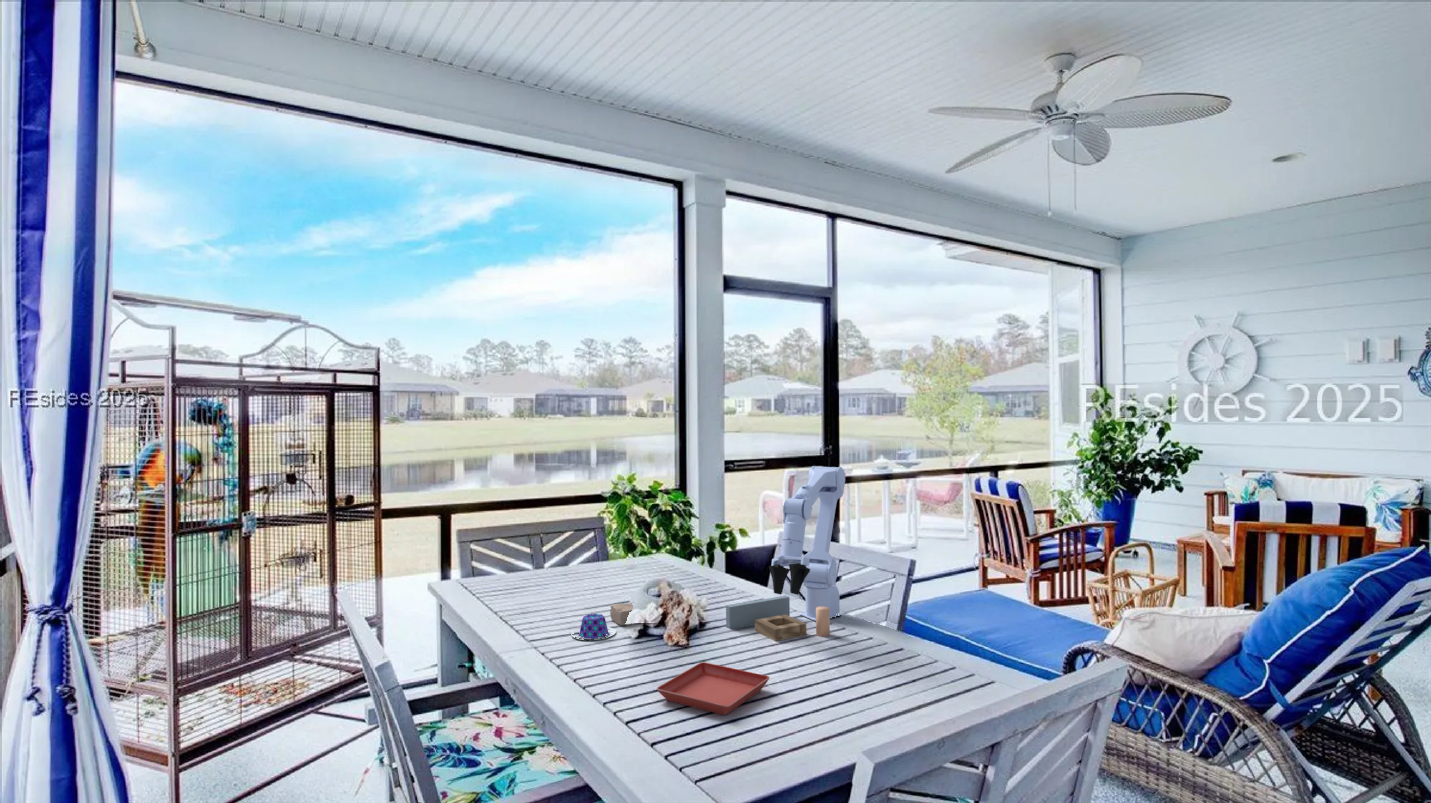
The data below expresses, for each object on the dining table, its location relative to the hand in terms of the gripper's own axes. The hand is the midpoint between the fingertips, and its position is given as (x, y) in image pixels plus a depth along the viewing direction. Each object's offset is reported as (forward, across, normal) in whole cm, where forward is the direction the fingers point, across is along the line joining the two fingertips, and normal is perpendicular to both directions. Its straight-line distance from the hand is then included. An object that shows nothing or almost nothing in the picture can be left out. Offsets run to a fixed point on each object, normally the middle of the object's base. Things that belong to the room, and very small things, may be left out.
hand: (785, 593), depth 193 cm
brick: (+12, -41, -21) cm, 47 cm away
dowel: (+8, -2, +15) cm, 17 cm away
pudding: (+19, -34, -37) cm, 54 cm away
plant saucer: (+27, +18, -27) cm, 42 cm away
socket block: (+9, -9, +6) cm, 14 cm away
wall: (+7, -19, +6) cm, 21 cm away
